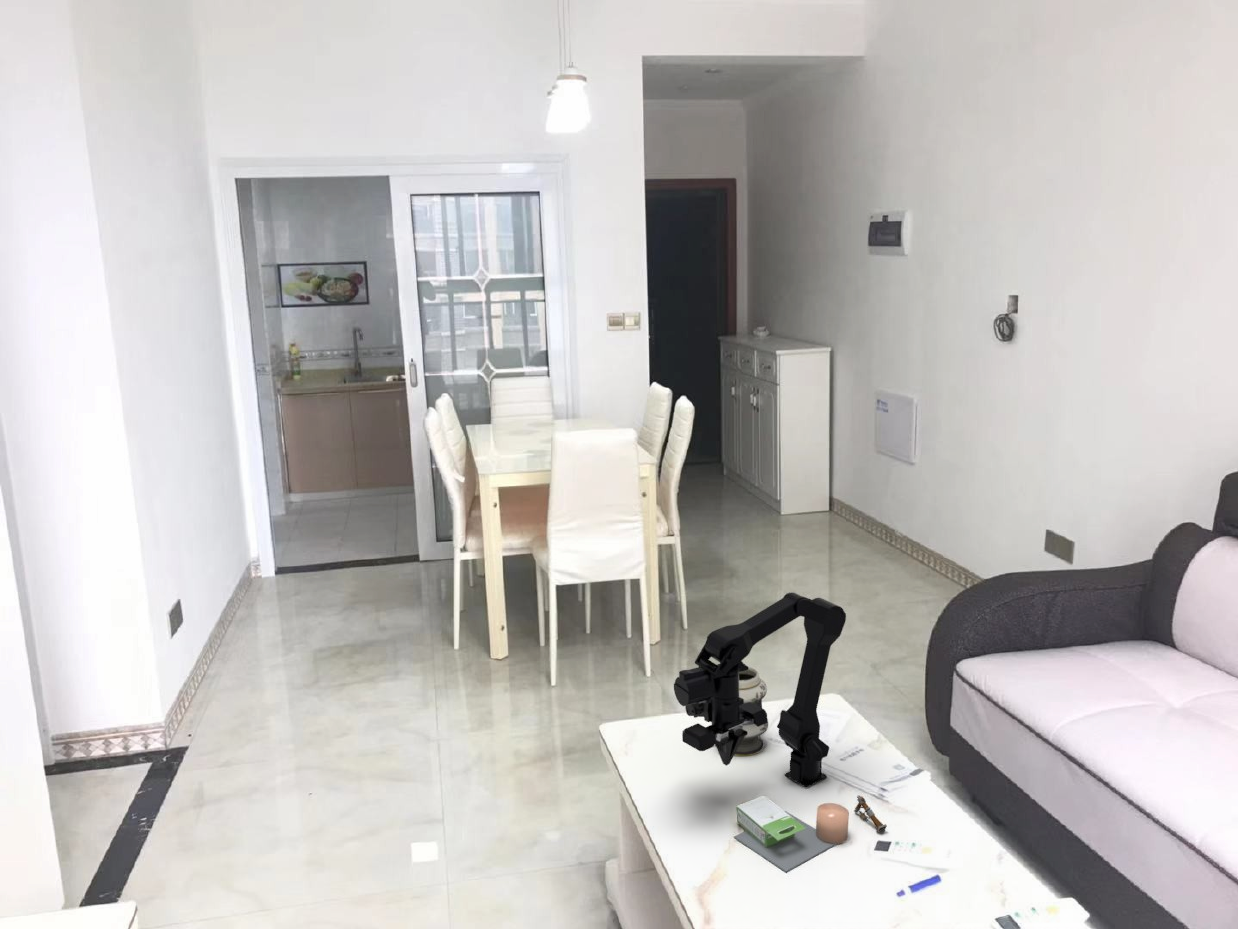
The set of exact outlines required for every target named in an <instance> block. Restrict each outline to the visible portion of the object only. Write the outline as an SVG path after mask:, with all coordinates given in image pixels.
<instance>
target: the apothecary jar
mask: <svg viewBox="0 0 1238 929" xmlns="http://www.w3.org/2000/svg"><path fill="white" fill-rule="evenodd" d="M748 667H749V669H748V670H745V671H742V672H739V697H740V698H742V699H744V704H745V703H747V702H750V703H752V704H754V705H756V706H759V707H761V708H763V699H764V698H765V696H766V695H767V691H768V687H767V685H766V683H765V681H764V680H763V679H762V678H760V673H759V671H758V670H757V669H756V668H753V667H751V666H748ZM742 705H743V704H742ZM739 706H740V705H739ZM742 726H743V730H745V731H747V732H748V734H747V735H746V736H745V737H744V739H743V740H742V742H741V743H740V745H739V747H738V749H737V750H736V752H735V754H734V756H737V757H748V756H753V755H755V754H758V753H760V752H761V751H762V750H763V748H764V747H765V746H764V745H765V744H764V742H763V740H762V739H761V738H760V736H762V735H763V734H764V733H765V732H767V730H768V728H769V719H768V718H767V723H766V724H763V725H761V726H759V727H758V726H756V725H755V724H754V719H751V720H750V721H749V722H746V723H744V724H742Z"/></svg>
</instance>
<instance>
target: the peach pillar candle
mask: <svg viewBox="0 0 1238 929" xmlns="http://www.w3.org/2000/svg"><path fill="white" fill-rule="evenodd" d="M849 819H850V812H849V810H848V809H847V808H846V807H845V806H843V805H841V804H839V803H832V802H826V803H822V804H819V805H818V806H817V808H816V820H815V824H816V826H815V829H816V836H817V837H818V838H819V839H820V840H822V841H824V842H827V843H833V844H837V845H838V844H841V843H842V844H843V843H845V842H846V841H847V840H848V835H849Z"/></svg>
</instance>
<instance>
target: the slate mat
mask: <svg viewBox="0 0 1238 929" xmlns="http://www.w3.org/2000/svg"><path fill="white" fill-rule="evenodd" d="M784 811H785V812H786V813H787V814H789V815H790V816H791V817H792V818H794V820H796V821H797V822H798V823H800V824H801V825H803V826H804V827H805V828H806V829H804V830H801V831H799V832H797V833H795V834H794V836H793V837H791V838H788V839H786V840H783V841H781V842H778V843H776V844H773V845H771V846H768V847H765V846H764V845H762V844H761V843H760V842H759V841H758V840H757V839H756V838H755V837H753V836H752V835H751V834H750V833H749V832H748V831H746V830H744V831H742V832H740V833H738V834H736V835H734V836H733V839H734V840H736V841H737V842H740V843H741V844H742V845H744V846H745V847H746V848H748V849H750V850H751V851H753V852H754V853H756V854H757V855H758V856H760V857H762V858H763V859H765V860H766V861H768V862H770V863H771V864H772V865H774V866H776V867H777V868H779V869H780V870H781V871H783V872H784V873H785V874H787V873H789V872H790V871H792V870H793V869H796V868H797V867H799V866H801V865H802V864H805V863H806V862H808V861H810V860H812V859H814V858H815V857H817V856H819V855H821V854H823V853H824V852H826V851H828V850H830V849H831V848H834V847H835V846H836V845H838V844H833V843H827V842H824V841H822V840H820V839H819V838H818V837H817V836H816V827H813V826H812V825H810V824H808V823H806V822H805V821H803V820H802V819H800V818H798V817H797V816H795V815H793V814H791V813H789V812H788V811H786V810H784ZM794 829H795V827H794Z"/></svg>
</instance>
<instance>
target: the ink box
mask: <svg viewBox="0 0 1238 929" xmlns="http://www.w3.org/2000/svg"><path fill="white" fill-rule="evenodd" d="M785 811H786V810H784V809H782V808H781V807H780V806H779V805H777V804H776V803H774V802H773V801H772V800H770V799H769V798H768V797H767V796H765V795H762V796H759V797H756V798H755V799H754V798H753V799H752V800H749V801H746V802H744V803H741V804H739V805H736V822H737V824H738V825H739V826H741V828H743V829H744V831H748V832H749V833H750V834H751V835H752V836H753V837H755V838H756V839H757V840H758V841H759V842H760V843H761V844H762V845H764V846H765V847H768V846H771V845H773V844H776V843H778V842H781V841H783V840H786V839H788V838H791V837H793V836H794V834H795V833H797V832H799V831H801V830H804V829H806V828H805V827H804V826H803V825H801V824H800V823H798V822H797V821H796V820H794V818H792V817H791V816H790V815H789V814H787V813H786V812H787V811H786V812H785ZM794 827H795V829H794Z"/></svg>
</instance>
